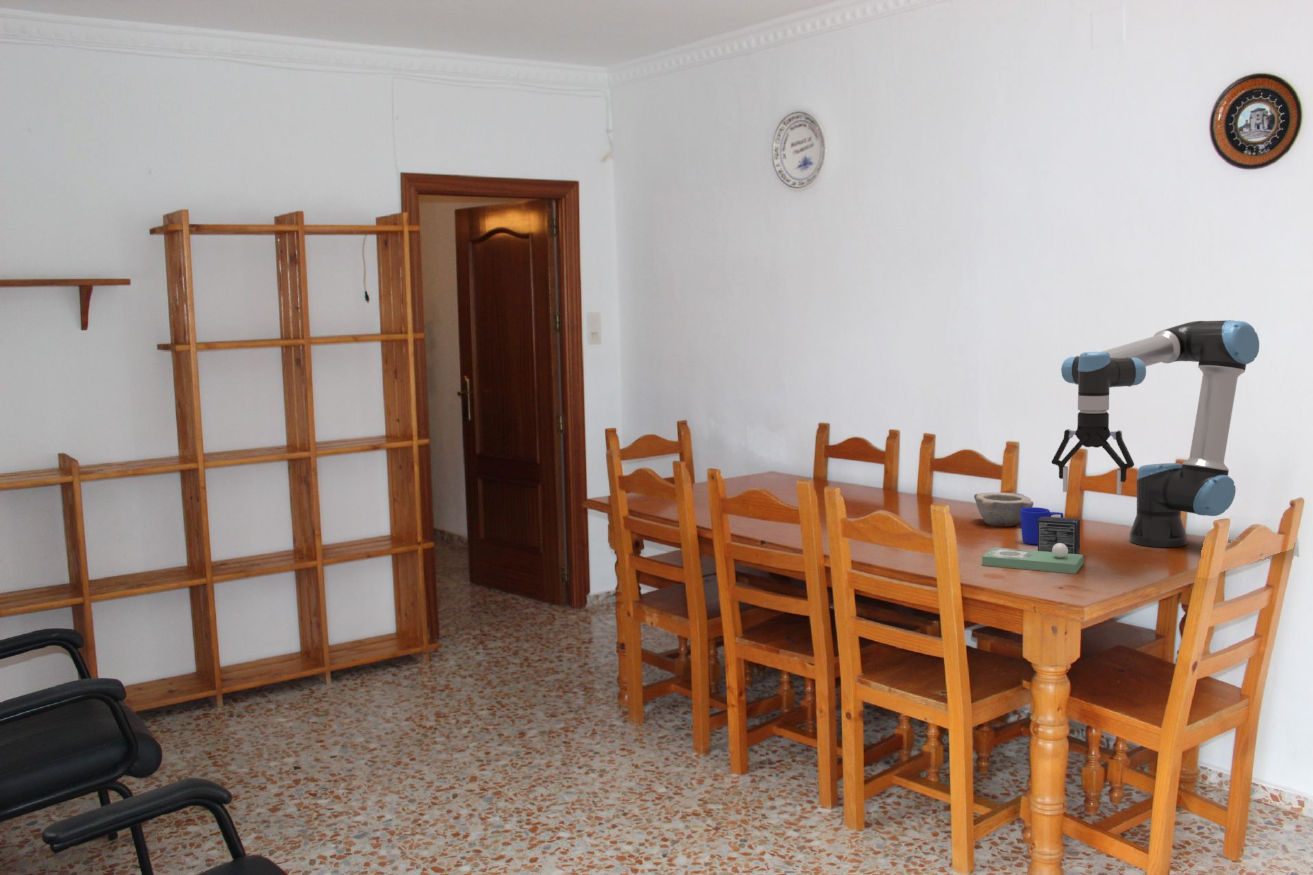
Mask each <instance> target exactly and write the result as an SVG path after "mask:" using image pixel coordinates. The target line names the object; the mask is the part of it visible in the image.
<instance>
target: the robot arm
mask: <svg viewBox="0 0 1313 875" xmlns="http://www.w3.org/2000/svg"><path fill="white" fill-rule="evenodd" d="M1259 352H1260V340H1259V336H1258V333H1257V332H1256V330H1255V328H1254V327H1253V326H1252V325H1251V324H1250V323H1248V322H1247V321H1243V320H1242V321H1241V320H1231V319H1228V320H1196V321H1195V320H1194V321H1189V322H1185V323H1182V324H1178V325H1175V326H1173V327H1172V326H1171V327H1168V328H1166V329H1165V328H1164V329H1163V330H1159V331H1157V332H1155V334H1153V336H1151V337H1147V338H1143V339H1141V340H1137V341H1132V342H1130V343H1127V344H1123V345H1120V346H1117V347H1112V348H1110V349H1107V350H1103V351H1102V350H1101V351H1085V352H1081V353H1080V354H1079V355H1076V356H1070V357H1069V356H1068V357H1067V358H1066V359H1064V360H1063V362H1062V364H1061V369H1060V370H1061V377H1062V378H1063V380H1064V381H1065V382H1066V383H1068V384H1074V385H1077V388H1078V389H1077V390H1078V391H1077V410H1078V411H1079V412H1077V426H1076V427H1077V429H1076V430H1074V429H1073V430H1071V429H1070V428H1067V429H1065V430H1064V432H1063V438H1062V441H1061V442H1060V445H1059V446H1058V448H1057V450H1056V452H1055V454H1054V456H1053V458H1052V460H1051V464H1052V465H1055V466H1057V467H1058V478H1059V480H1062V492H1063V493H1067V491H1068V488H1069V487H1068V486H1069V485H1068V484H1069V475H1068V474H1069V466H1067V463H1068V462H1069V461H1070V460H1071V459H1072V457H1073V456H1074V455H1075V454H1076V453H1077V452H1078V451H1079V450H1080V449H1081V448H1082V447H1085V448H1100V447H1102V448H1103V450H1104V451H1106V453H1107V454H1108V455H1109V457H1110V458H1111V459H1112V460H1113V461H1114V462H1115V463H1116V465H1117V466H1118V468H1117V470H1116V472H1117V474H1116V496H1121V495H1122V489H1123V488H1122V483H1125V482H1126V481H1127V470H1128V469H1131V468H1133V467H1134V466H1135V463H1134V460H1133V458H1132V455H1131V453H1130V452H1129V450H1128V447H1127V445H1126V444H1125V442H1124V439H1123V431H1122V430H1119V429H1118V430H1117V431H1110V428H1109V427H1110V423H1109V422H1110V419H1109V418H1110V413H1108V410H1110V389H1111V388H1117V387H1118V388H1119V387H1121V388H1122V387H1133V386H1137V385H1140V384H1142V383H1143V382H1144V380H1145V378H1146V375H1147V367H1149V366H1153V365H1155V364H1159V363H1162V364H1171V363H1175V362H1195V363H1197V362H1198V366H1197V368H1198V369H1199V370H1200V371H1201V372H1202V378H1201V383H1200V390H1199V397H1198V401H1197V402H1198V403H1197V409H1196V416H1195V421H1194V427H1193V434H1192V439H1191V447H1190V452H1189V453H1190V454H1189V457H1188V458H1187V459H1186V460H1185V461H1183V462H1182V463H1178V462H1171V463H1170V462H1168V463H1152V464H1145V465H1141V466H1140V467H1139V468H1138V469H1137V478H1136V516H1135V518H1134V521H1133V524H1132V526H1131V529H1130V532H1129V542H1130V543H1132V544H1135V545H1139V546H1144V547H1150V548H1178V547H1184V546H1186V545H1188V535H1187V533H1186V529H1185V526H1184V523H1183V520H1182V513H1183V512H1185V513H1188V514H1189V513H1190V514H1193V515H1194V514H1196V515H1198V516H1209V517H1217V516H1220V515H1222V514H1224V513H1225V512H1226V511H1227V510H1228V509H1229V508H1230V507H1231V505H1232V504H1233V501H1234V500H1235V497H1236V490H1237V488H1236V485H1235V481H1234V479H1233V478H1231V477H1230V476H1229V472H1230V470H1229V468H1228V467H1227V466H1226V464H1225V459H1226V458H1225V457H1226V451H1227V445H1228V438H1229V432H1230V427H1231V420H1232V416H1233V408H1234V402H1235V398H1236V397H1235V395H1236V390H1237V384H1238V378H1239V377H1240V376H1241V375H1242V374H1244V373H1245V372H1246V369H1247V368H1246V367H1247V365H1248V364H1251V363H1252V362H1254V361H1255V359H1256V358H1257V357H1258V354H1259ZM1074 436H1076V438H1077V440H1078V442H1077V443H1076V444H1075V445H1074V447H1072V448H1071V449H1070V450H1069V452H1068V453H1067V454H1066V455H1065V456H1064V457H1063V458H1062V459H1061V457H1062V455H1063V453H1064V450H1065V449H1066V447H1067V446H1068V444H1069V442H1070V439H1072V438H1074ZM1110 437H1112V439H1113V440H1114V441H1116V443H1117V446H1118V448H1119V449H1120V452H1121V453H1122V456H1123V459H1124V460H1125V461H1123V459H1122V457H1120V455H1119V454H1118V453H1117V452H1116V451H1115V450H1114V448H1113V447H1112V446H1111V445H1110V443H1109V442H1108V440H1109V438H1110ZM1060 459H1061V460H1060ZM1125 462H1126V463H1125Z"/></svg>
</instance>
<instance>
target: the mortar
mask: <svg viewBox="0 0 1313 875" xmlns="http://www.w3.org/2000/svg"><path fill="white" fill-rule="evenodd" d="M973 497H974V498H973V499H974V500H975V503H976V506H977V507H976V508H977V511H978V512H979V514H980V517H981V518H982V519H983V521H984V522H985V523H986V524H987V525H989V526H993V527H1007V528H1008V527H1015V526H1017V525H1020V524H1021V516H1020V509H1022V508H1028V507H1034V503H1035V502H1034V501H1033V500H1031V498H1030V497H1028V496H1027V495H1024V493H1018V492H1017V493H1016V492H1015V493H1014V492H980V493H979V492H977V493H974V494H973Z"/></svg>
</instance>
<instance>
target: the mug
mask: <svg viewBox="0 0 1313 875" xmlns="http://www.w3.org/2000/svg"><path fill="white" fill-rule="evenodd" d="M1054 515H1057V516H1060V518H1064V513H1063V512H1058V511H1051V510H1050V509H1049V508H1044V507H1034V506H1033V507H1028V508H1022V509H1020V516H1021V522H1020V524H1021V526H1020V527H1021V538H1022V542H1023V543H1025V544H1027V545H1031V546H1032V545H1033V546H1034V545H1035V546H1036V545H1037V546H1038V519H1039V518H1041V517H1053V516H1054Z"/></svg>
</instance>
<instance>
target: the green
mask: <svg viewBox="0 0 1313 875" xmlns="http://www.w3.org/2000/svg"><path fill="white" fill-rule="evenodd" d="M981 556H982V557H981V558H982V561H981V566H984V567H985V566H986V567H987V566H988V567H997V568H1006V569H1007V568H1008V569H1018V570H1019V569H1020V570H1031V571H1041V572H1048V573H1049V572H1050V573H1051V572H1052V573H1062V574H1063V573H1064V574H1074V575H1077V573H1078V572H1079V570H1080V569H1081V568H1082V566H1083V565H1084V554H1081V553H1080V554H1067V555H1066V556H1065V557H1063V558H1057V557H1055V556H1054V555H1053V553H1052V552H1044V551H1038V550H1030V549H1019V548H1005V547H996V546H995V547H991V548H990V549H989V550H988V551H987V552H986V553H984V554H983V555H981Z"/></svg>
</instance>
